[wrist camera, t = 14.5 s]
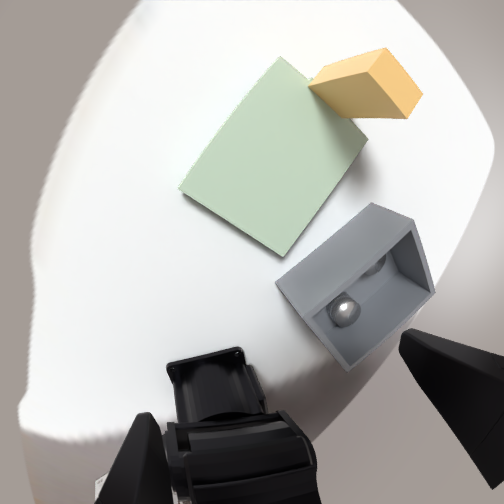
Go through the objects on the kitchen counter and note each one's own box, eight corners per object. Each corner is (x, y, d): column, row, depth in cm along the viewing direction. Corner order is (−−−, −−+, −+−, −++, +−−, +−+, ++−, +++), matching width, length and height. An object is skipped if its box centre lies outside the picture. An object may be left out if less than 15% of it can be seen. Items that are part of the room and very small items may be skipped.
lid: (275, 249, 22) (326, 305, 15) (177, 185, 18) (182, 216, 11) (367, 123, 20) (445, 128, 13) (285, 46, 17) (348, 8, 10)
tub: (320, 338, 26) (347, 372, 22) (274, 282, 23) (301, 317, 18) (400, 269, 26) (435, 292, 22) (371, 202, 23) (413, 219, 18)
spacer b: (349, 269, 24) (361, 278, 22) (349, 241, 23) (362, 249, 21) (372, 262, 24) (385, 270, 23) (373, 236, 23) (387, 243, 22)
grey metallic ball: (325, 319, 25) (335, 330, 23) (326, 295, 24) (336, 306, 22) (349, 311, 25) (359, 322, 24) (350, 288, 24) (362, 298, 23)
